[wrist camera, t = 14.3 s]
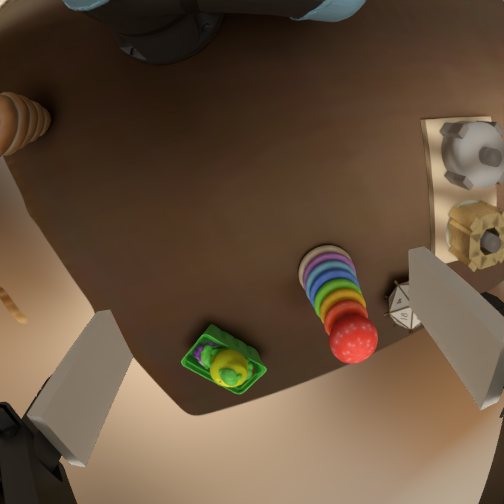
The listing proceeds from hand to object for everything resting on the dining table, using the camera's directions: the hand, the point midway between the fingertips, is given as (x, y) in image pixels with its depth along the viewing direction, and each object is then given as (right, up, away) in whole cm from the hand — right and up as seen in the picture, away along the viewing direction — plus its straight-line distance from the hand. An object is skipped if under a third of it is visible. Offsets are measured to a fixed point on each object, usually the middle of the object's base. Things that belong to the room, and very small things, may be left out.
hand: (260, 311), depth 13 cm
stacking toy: (+10, 0, +33) cm, 35 cm away
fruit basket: (-4, -13, +38) cm, 40 cm away
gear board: (+32, +12, +28) cm, 44 cm away
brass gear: (+33, +6, +29) cm, 44 cm away
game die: (+23, -4, +35) cm, 42 cm away
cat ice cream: (-31, +22, +25) cm, 45 cm away
